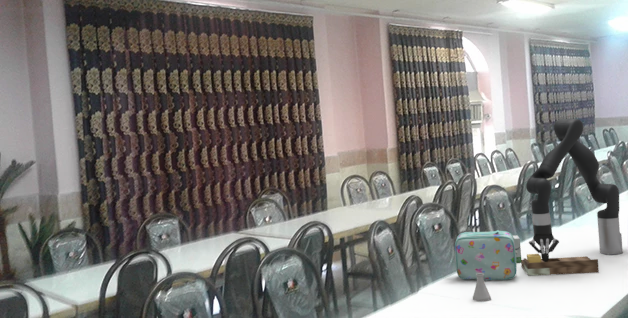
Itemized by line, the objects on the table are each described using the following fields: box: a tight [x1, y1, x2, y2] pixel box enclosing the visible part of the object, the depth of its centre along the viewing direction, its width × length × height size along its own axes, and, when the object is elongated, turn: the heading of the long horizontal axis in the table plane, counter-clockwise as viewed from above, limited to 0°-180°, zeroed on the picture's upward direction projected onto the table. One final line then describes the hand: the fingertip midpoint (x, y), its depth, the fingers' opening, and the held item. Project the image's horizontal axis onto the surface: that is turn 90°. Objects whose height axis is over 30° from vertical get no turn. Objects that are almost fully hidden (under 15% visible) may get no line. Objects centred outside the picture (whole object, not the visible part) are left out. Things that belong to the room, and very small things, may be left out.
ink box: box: [512, 234, 522, 264], centre depth 288 cm, size 9×5×12 cm, turn 168°
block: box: [526, 253, 542, 263], centre depth 264 cm, size 5×5×5 cm
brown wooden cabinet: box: [520, 256, 599, 277], centre depth 267 cm, size 29×17×6 cm, turn 80°
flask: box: [472, 273, 492, 302], centre depth 235 cm, size 7×7×10 cm
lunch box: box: [454, 229, 519, 281], centre depth 263 cm, size 27×10×21 cm, turn 71°
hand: (545, 261), depth 264 cm, fingers closed
